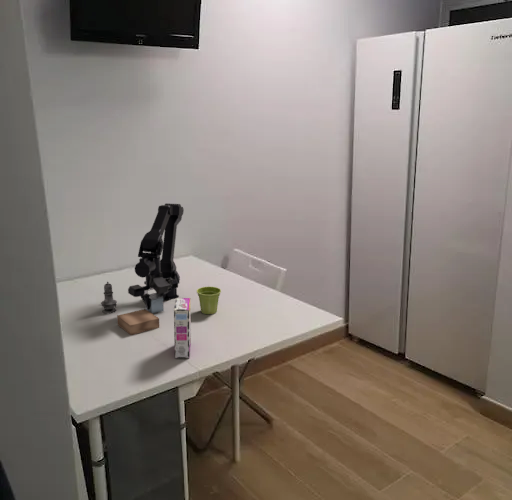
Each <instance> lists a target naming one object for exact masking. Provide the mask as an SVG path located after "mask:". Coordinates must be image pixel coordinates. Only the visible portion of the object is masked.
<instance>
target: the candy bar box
mask: <svg viewBox="0 0 512 500" xmlns="http://www.w3.org/2000/svg"><path fill="white" fill-rule="evenodd" d="M173 306H174V308H173V325H174V326H173V330H174V332H173V333H174V359H190V358H191V357H190V356H191V345H192V338H191V337H192V333H191V332H192V331H191V330H192V329H191V328H192V327H191V325H192V324H191V323H192V322H191V319H192V318H191V315H192V314H191V298H190V297H181V298H179V297H176V298H175V302H174V305H173Z"/></svg>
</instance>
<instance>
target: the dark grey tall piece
mask: <svg viewBox="0 0 512 500" xmlns="http://www.w3.org/2000/svg"><path fill="white" fill-rule="evenodd" d="M112 285H113V284H111V283H109V281H106V283H105V284H104V285H103V286H104V287H103V289H104V292H103V293H102V294H103V295H104V300H102V301H101V302H100V304H101V307H102V308H103V310H102V313H103V312H104V313H103V314H107V313H109V314H114V313H116V312H117V309H116V305H117V302H118V301H117V300H115V299H114V297H113V295H114V292H113V286H112ZM113 312H114V313H113Z"/></svg>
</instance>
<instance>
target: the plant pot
mask: <svg viewBox="0 0 512 500" xmlns="http://www.w3.org/2000/svg"><path fill="white" fill-rule="evenodd" d="M221 293H222V289H221V288H219V287H217V286H203V287H199V288H197V289H196V294H197V296H198V300H199V307H200V312H201V313H202V314H204V315H210V314H212V315H213V314H216V313H217V312H218V305H219V299H220V295H221Z"/></svg>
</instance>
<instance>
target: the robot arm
mask: <svg viewBox="0 0 512 500" xmlns="http://www.w3.org/2000/svg"><path fill="white" fill-rule="evenodd" d="M183 215H184V207H183V206H182V205H181V204H180V203H164V204H161V205H158V208H157V213H156V215H155V216H156V217H155V219H154V222H153V224H152V226H151V229H150V230H149V231H148V232H146V233H145V234H144V236H143V238H142V239H141V241H140V245H139V248H138V255H137V257H138V258H139V262H137V263H136V264H135V267H134V272H135V274H136V276H138V277H140V278H145V281H144V286H141V285H140V284H134V285H129V287H128V288H127V293H128V294H129V295H130V296H133V297H134V298H139V297H141V299H142V302H143V303H144V305H145V309H146V308H147V309H148V310H149V296H150V295H149V294H150V293H149V292H148V291H152V290H154V292H155V293H158V294H160V295H162V296H163V302H164V301H168V300H171V299H176V298H179V297H180V296H179V294H178V289H177V288H179V284H180V280H181V279H180V278H181V277H180V274H179V273H178V271H177V265H176V263H175V260H174V258H175V247H176V236H177V228H178V225H179V223H181V221H182V218H183Z"/></svg>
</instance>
